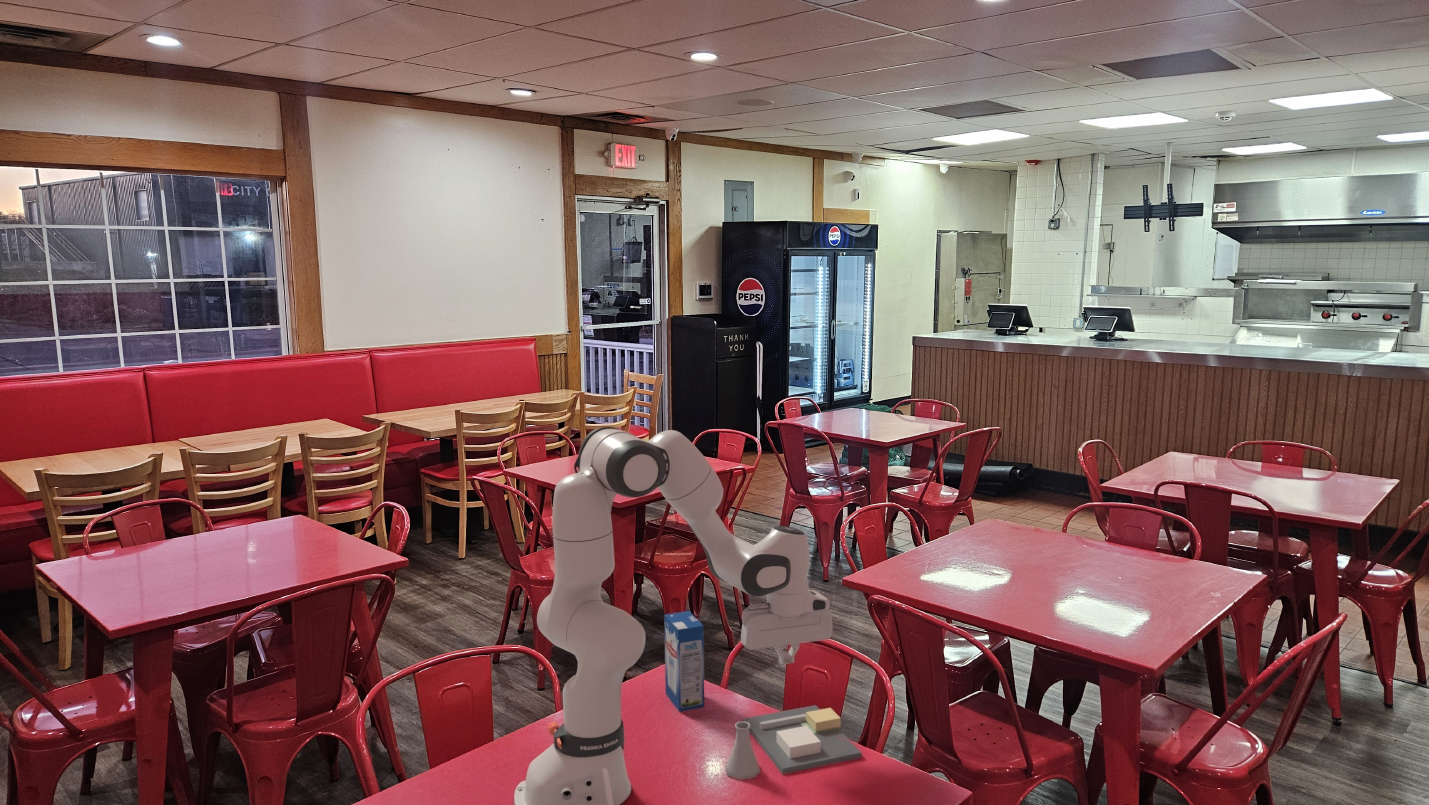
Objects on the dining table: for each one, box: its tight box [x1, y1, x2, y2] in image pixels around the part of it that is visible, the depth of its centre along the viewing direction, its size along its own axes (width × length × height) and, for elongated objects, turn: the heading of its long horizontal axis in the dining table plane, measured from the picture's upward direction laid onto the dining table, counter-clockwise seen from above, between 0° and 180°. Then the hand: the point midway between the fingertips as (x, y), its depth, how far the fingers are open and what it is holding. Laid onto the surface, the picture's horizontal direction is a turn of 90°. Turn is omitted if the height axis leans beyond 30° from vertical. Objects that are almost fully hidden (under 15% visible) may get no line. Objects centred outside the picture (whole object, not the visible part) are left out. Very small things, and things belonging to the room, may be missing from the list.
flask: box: [725, 720, 762, 780], centre depth 185 cm, size 7×7×10 cm
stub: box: [806, 707, 842, 731], centre depth 201 cm, size 6×5×2 cm
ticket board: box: [742, 704, 863, 775], centre depth 197 cm, size 18×22×4 cm
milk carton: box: [663, 610, 705, 713], centre depth 214 cm, size 10×6×20 cm, turn 22°
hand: (786, 662), depth 196 cm, fingers closed
